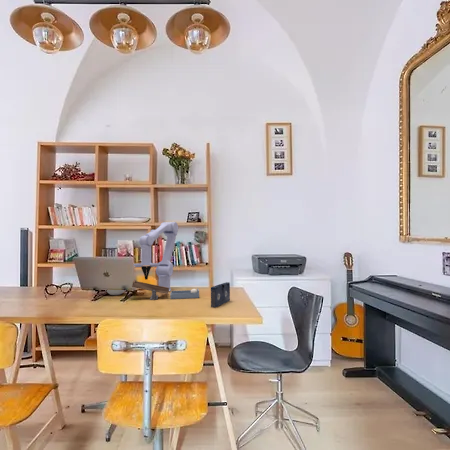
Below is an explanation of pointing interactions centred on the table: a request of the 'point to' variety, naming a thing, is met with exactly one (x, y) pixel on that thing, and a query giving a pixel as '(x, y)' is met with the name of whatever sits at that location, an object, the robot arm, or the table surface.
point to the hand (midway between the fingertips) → (146, 279)
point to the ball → (194, 291)
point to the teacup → (115, 292)
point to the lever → (150, 287)
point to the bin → (184, 294)
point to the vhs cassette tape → (220, 294)
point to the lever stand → (154, 295)
